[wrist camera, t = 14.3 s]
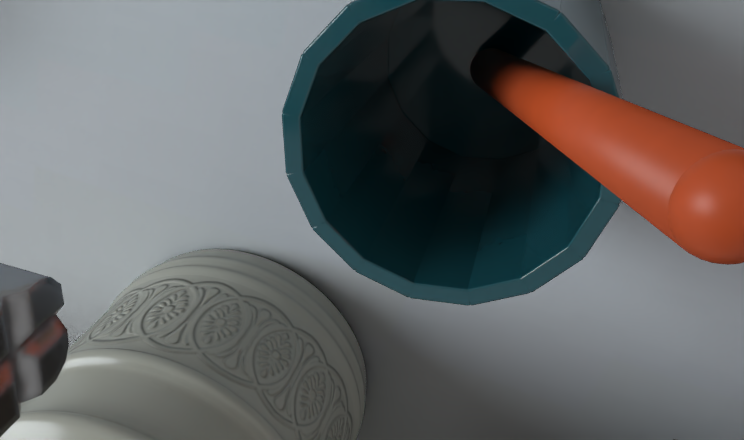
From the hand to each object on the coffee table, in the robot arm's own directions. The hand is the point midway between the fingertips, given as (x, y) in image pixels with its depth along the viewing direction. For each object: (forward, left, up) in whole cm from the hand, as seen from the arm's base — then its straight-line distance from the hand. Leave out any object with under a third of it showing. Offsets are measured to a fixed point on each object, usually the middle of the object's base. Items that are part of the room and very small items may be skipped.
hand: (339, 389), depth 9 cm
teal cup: (0, 0, -19) cm, 19 cm away
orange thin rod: (0, 0, -18) cm, 18 cm away
